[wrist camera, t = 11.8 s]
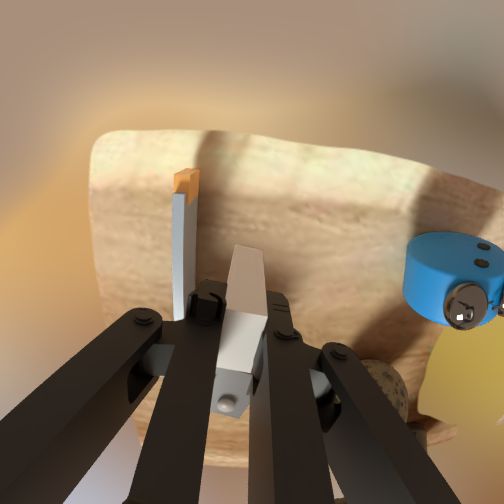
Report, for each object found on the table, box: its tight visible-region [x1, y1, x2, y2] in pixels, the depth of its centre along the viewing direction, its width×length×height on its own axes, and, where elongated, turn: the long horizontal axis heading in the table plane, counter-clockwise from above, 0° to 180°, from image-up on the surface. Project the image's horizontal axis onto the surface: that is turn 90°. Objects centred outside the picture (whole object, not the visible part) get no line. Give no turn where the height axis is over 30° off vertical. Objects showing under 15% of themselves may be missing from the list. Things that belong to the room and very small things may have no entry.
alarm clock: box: [403, 232, 504, 330], centre depth 27 cm, size 13×6×15 cm, turn 96°
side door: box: [172, 168, 200, 321], centre depth 29 cm, size 16×1×7 cm, turn 175°
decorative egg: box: [336, 359, 409, 423], centre depth 34 cm, size 11×11×15 cm
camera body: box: [161, 367, 253, 418], centre depth 34 cm, size 11×8×10 cm
